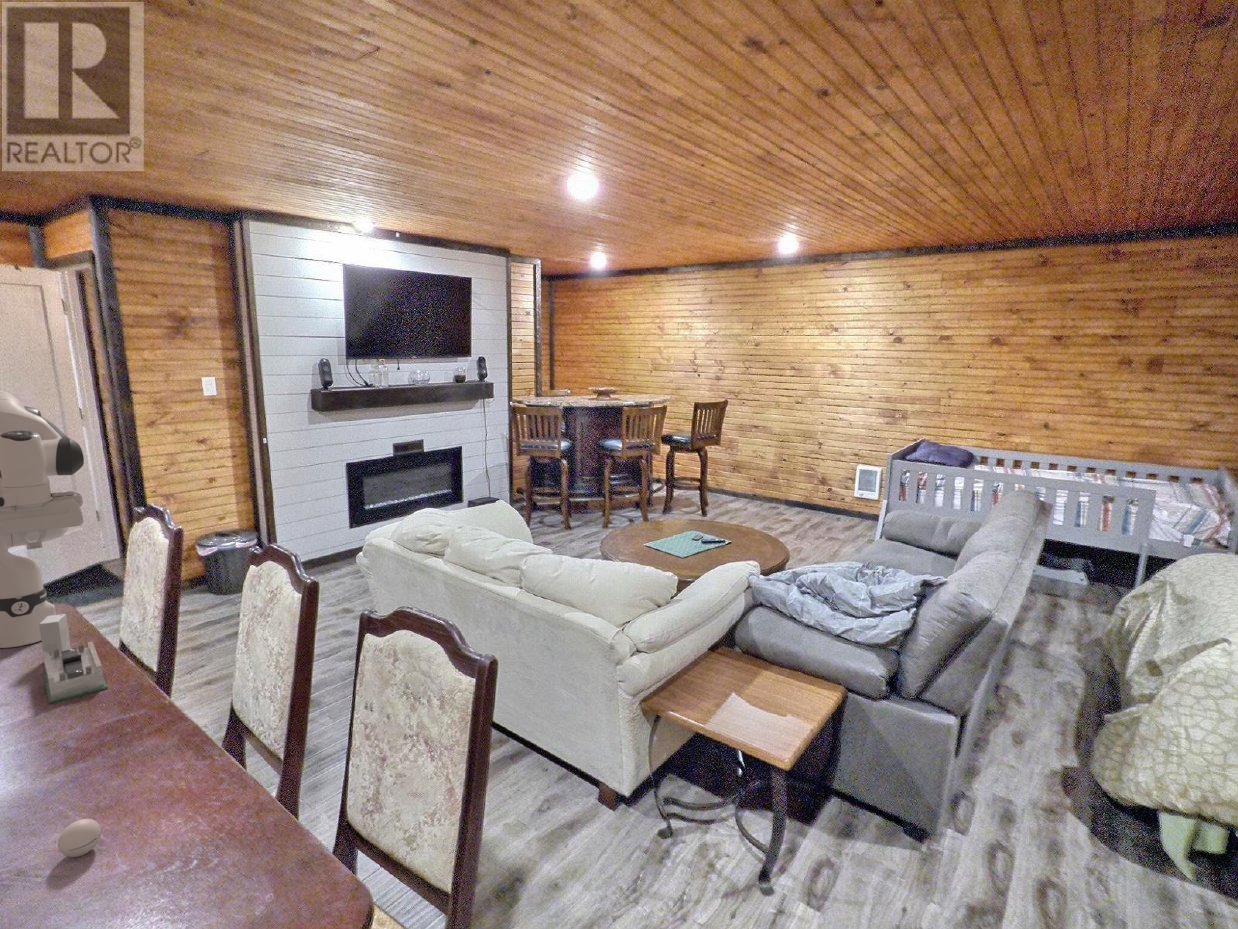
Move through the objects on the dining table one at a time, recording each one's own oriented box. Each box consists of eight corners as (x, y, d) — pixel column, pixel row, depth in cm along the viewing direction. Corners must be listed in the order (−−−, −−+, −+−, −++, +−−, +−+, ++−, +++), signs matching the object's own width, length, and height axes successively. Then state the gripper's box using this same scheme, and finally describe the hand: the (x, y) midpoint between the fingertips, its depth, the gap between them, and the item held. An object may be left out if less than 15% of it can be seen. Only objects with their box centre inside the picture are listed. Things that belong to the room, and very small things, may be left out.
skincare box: (52, 656, 176) (47, 615, 174) (72, 653, 177) (66, 613, 175) (43, 665, 170) (38, 624, 168) (64, 663, 172) (58, 621, 170)
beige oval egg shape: (57, 871, 103) (53, 840, 102) (61, 849, 108) (58, 820, 107) (117, 850, 108) (113, 821, 107) (118, 830, 112) (115, 802, 111)
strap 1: (61, 654, 167) (61, 651, 167) (76, 651, 169) (76, 647, 169) (64, 662, 162) (63, 659, 161) (79, 659, 164) (78, 655, 164)
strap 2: (83, 674, 157) (83, 670, 157) (67, 678, 155) (67, 674, 155) (80, 663, 162) (79, 659, 162) (65, 666, 160) (64, 663, 160)
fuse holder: (43, 673, 166) (39, 649, 165) (96, 660, 174) (94, 637, 173) (49, 704, 152) (45, 679, 150) (107, 688, 159) (104, 664, 158)
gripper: (79, 488, 169) (85, 538, 171) (-29, 498, 154) (-21, 553, 157) (82, 492, 164) (88, 543, 166) (-30, 503, 150) (-21, 559, 152)
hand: (34, 548), depth 161 cm, fingers closed
